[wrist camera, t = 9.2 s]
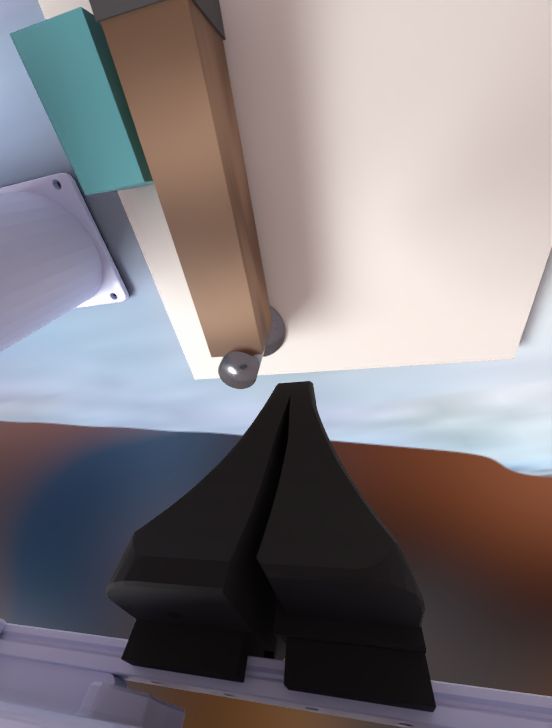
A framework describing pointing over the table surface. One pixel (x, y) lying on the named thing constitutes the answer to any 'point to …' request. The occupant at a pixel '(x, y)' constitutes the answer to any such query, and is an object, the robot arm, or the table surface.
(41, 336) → the table surface
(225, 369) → the folding leg
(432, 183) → the board
